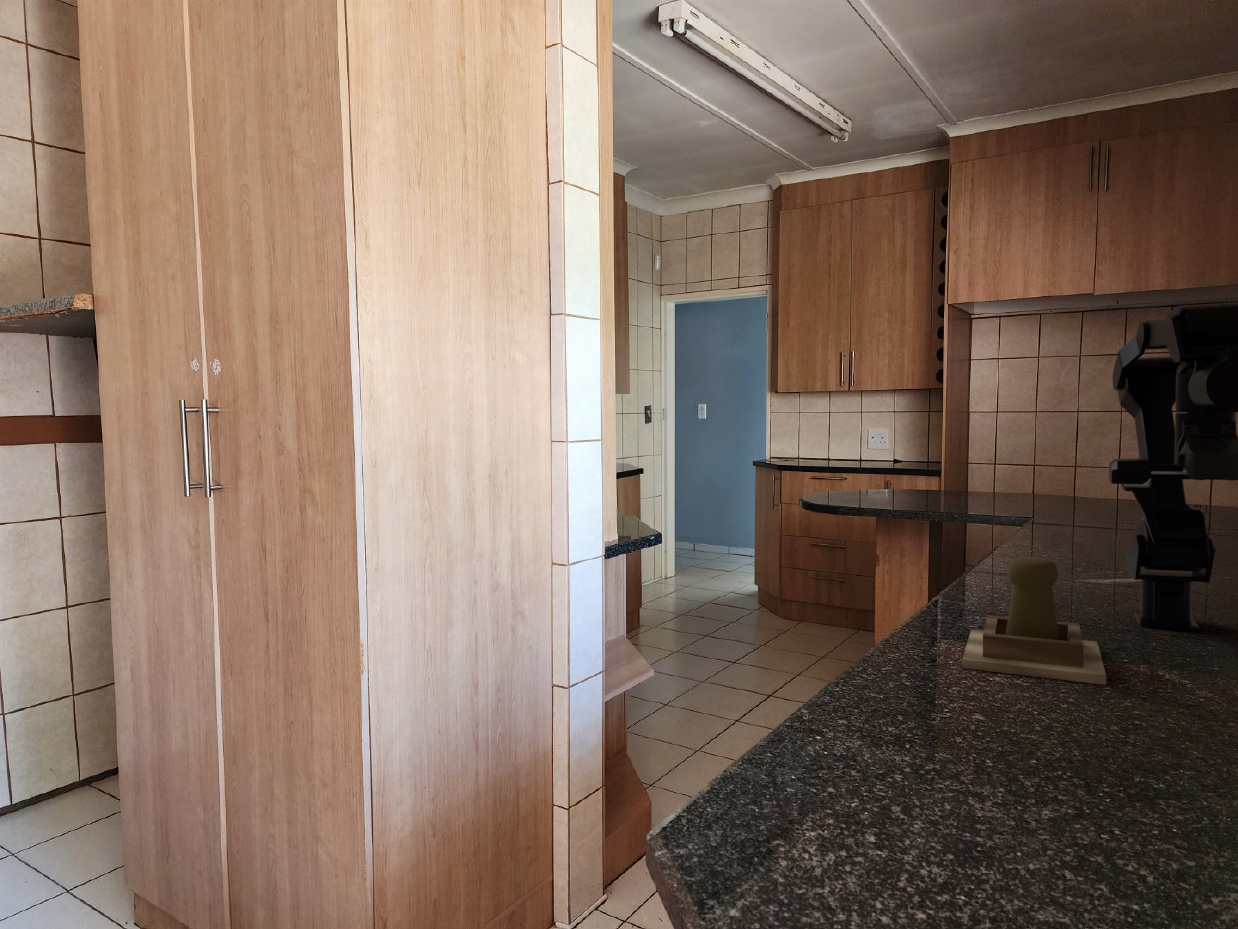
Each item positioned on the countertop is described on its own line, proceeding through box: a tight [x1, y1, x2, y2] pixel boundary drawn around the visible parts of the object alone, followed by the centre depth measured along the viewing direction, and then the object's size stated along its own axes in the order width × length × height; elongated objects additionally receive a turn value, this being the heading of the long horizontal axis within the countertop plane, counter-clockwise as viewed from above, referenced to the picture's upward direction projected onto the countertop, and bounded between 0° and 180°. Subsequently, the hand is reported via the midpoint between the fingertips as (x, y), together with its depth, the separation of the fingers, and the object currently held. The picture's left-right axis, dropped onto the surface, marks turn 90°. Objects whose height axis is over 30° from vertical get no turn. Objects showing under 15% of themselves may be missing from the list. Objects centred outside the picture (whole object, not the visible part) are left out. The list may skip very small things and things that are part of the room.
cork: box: [1006, 555, 1060, 640], centre depth 92 cm, size 6×6×11 cm
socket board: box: [962, 615, 1107, 686], centre depth 92 cm, size 14×14×4 cm
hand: (1202, 545), depth 92 cm, fingers open, 9 cm apart
